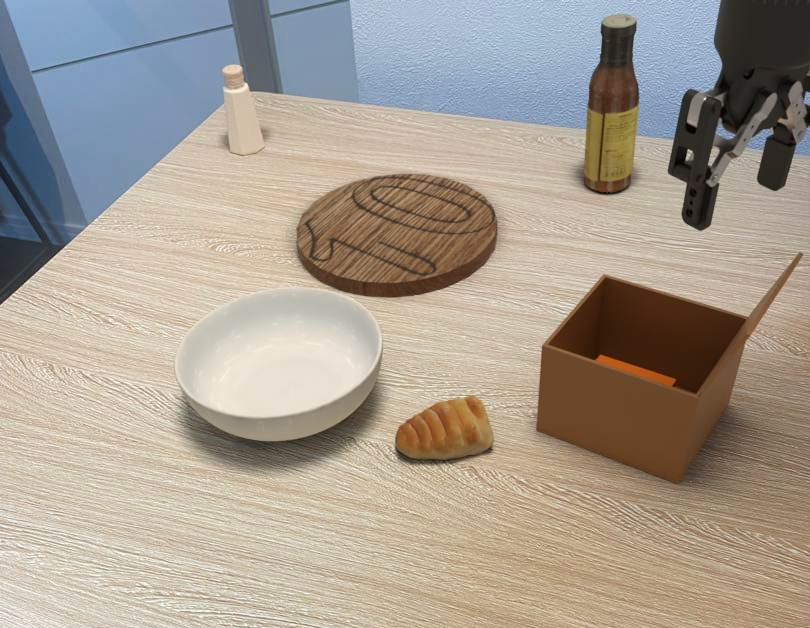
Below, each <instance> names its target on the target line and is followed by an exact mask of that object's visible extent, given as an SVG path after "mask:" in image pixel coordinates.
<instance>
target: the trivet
mask: <svg viewBox="0 0 810 628" xmlns="http://www.w3.org/2000/svg"><path fill="white" fill-rule="evenodd" d="M295 230H296V244H297V250H298V256H299V258H300V260H301V263H302V264H303V266H304V268H305V269H306V271H308V272H309V273H310V274H311V275H312V276H314V278H316V279H317V280H318V281H320V282H321V283H323V284H326V285H328V286H330V287H333V288H335V289H337V290H339V291H341V292H346V293H351V294H356V295H359V296H365V297H381V298H397V297H406V296H414V295H423V294H426V293H431V292H433V291H436V290H440V289H444V288H447V287H449V286H452V285H455V284H456V283H458V282H460V281H462V280H464V279H466V278H468V277H470V276H471V275H473V274H474V273H475V272H476V271H477V270H479V269H480V268H481V267H482V266H484V265H485V264H486V263H487V262H488V260H489V259H490V256H491V255H492V254H493V252H494V251H495V248H496V243H497V238H498V218H497V214H496V211H495V208H494V206H493V205H492V203H490V201H489V200H488V199H487V197H485V196H484V195H483V194H482V193H481V192H479V191H477V190H476V189H475V188H473V187H471V186H469V185H467V184H465V183H463V182H460V181H457V180H453V179H451V178H448V177H443V176H436V175H431V174H426V173H425V174H424V173H395V174H385V175H375V176H371V177H367V178H363V179H359V180H355V181H351V182H349V183H347V184H344V185H341V186H339V187H336V188H335V189H331V190H330V191H329V192H327V193H326V194H324V195H322V196H321V197H319V198H318V199H316V200H315V201H313V203H312V204H311V205H310V206H309V207H308V208H307V209H306V210H305V211H304V212H303V213H302V214H301V217H300V219H299V221H298V223H297V226H296V229H295Z"/></svg>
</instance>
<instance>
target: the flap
mask: <svg viewBox="0 0 810 628" xmlns="http://www.w3.org/2000/svg"><path fill="white" fill-rule="evenodd" d="M803 256H804V253H803V252H801V251H798V253H797V254H796V255H795V257H794V258H793V260H791V262H790V263H789V265H788V266H787V267H786V268H785V269H784V271H783V272H782V273H781V274H780V276H779V277H778V278H777V279H776V280H775V282H774V283H773V285H772V286H771V287H770V288H769V290H768V291H767V292H766V293H765V294H764V296H763V297H762V298H761V299H760V301H759V302H758V303H757V305H756V306H754V308H753V309H752V311H751V312H750V314H749V315H748V316H747V317H748V318H747V320H746V321H745V323H744V324H743V326H742V327H741V329H740V330H739V332H738V333H737V335H736V336H735V338H734V339H733V341H732V342H731V344H730V345H729V347H728V348H727V350H726V351H725V352H724V354H723V355H722V357H721V358H720V360H719V361H718V363H717V364H716V366H715V367H714V369H713V370H712V372H711V373H710V375H709V376H708V378H707V379H706V381H705V382H704V384H703V385H702V387H701V388H700V390H699V391H700V392H701V393H704V391H705V390H706V389H707V388H708V386H709V385H710V384H711V383H712V382H713V380H714V379H715V378H716V377H717V376H718V374H719V373H720V372H721V371H722V370H723V368H724V367H725V366H726V365H727V363H728V362H729V361H730V360H731V359H732V357H733V356H734V355H735V354H736V353H737V351H738V350H739V349H740V348H741V347H742V345H743V344H744V343H745V342H746V343H747V341H748V340H749V338H750V337H752V334H753V332H754V331H755V330H756V328H757V326H758V325H759V323H760V322H761V321H762V318H764V316H765V315H766V313H767V311H768V310H769V308H770V307H771V305H772V304H773V302H774V300H776V297H778V294H779V293H780V292H781V290H782V289H783V287H784V285H785V284H786V283H787V281H788V279H789V277H790V276H791V275H792V273H793V272H794V270H795V269H796V267H797V266H798V264H799V263H800V262H801V259H802V258H803ZM746 343H745V344H746Z"/></svg>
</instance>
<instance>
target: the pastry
mask: <svg viewBox="0 0 810 628" xmlns="http://www.w3.org/2000/svg"><path fill="white" fill-rule="evenodd" d="M394 438H395V440H394V445H395V448H396V449H397V450H398V451H399V452H400V453H402V454H403V455H405V456H406V457H408V458H410V459H415V460H423V461H427V460H437V461H447V460H453V459H460V458H465V457H466V456H470V455H472V456H475V455H479V454H482V453H484V452H486V451H487V450H489V449H490V448H491V447H492V446H493V445H494V443H495V437H494V431H493V428H492V425H491V423H490V420H489V416H488V413H487V410H486V407H485V405H484V402H483V401H482V400H481V399H480V398H479V397H477V396H476V395H473V394H471V395H467V396H466V397H462V398H452V399H447V400H444V401H443V400H441V401H437V402H435V403H434V404H432V405H431V406H429V407H428V408H425V409H423V410H422V411H421V412H419V413H417V414H415V415H413V416H411V417H410V418H408V419H407V420H405V422H403V423H402V424H400V425H399V426H398V428H397V431H396V434H395V436H394Z"/></svg>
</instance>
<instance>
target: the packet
mask: <svg viewBox="0 0 810 628" xmlns="http://www.w3.org/2000/svg"><path fill="white" fill-rule="evenodd" d="M595 361H598V362H601V363H604V364H607V365H610V366H613V367H616V368H619V369H622V370H624V371H627V372H630V373H633V374H636V375H639V376H642V377H645V378H648V379H651V380H654V381H657V382H660V383H663V384H666V385H669V386H672V387H675V385H676V379H674V378H671V377H668V376H665V375H662V374H659V373H656V372H652V371H649V370H646V369H643V368H640V367H637V366H634V365H631V364H628V363H625V362H622V361H619V360H616V359H613V358H609V357H606V356H603V355H599V357H598V358H597V359H596V360H595Z"/></svg>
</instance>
